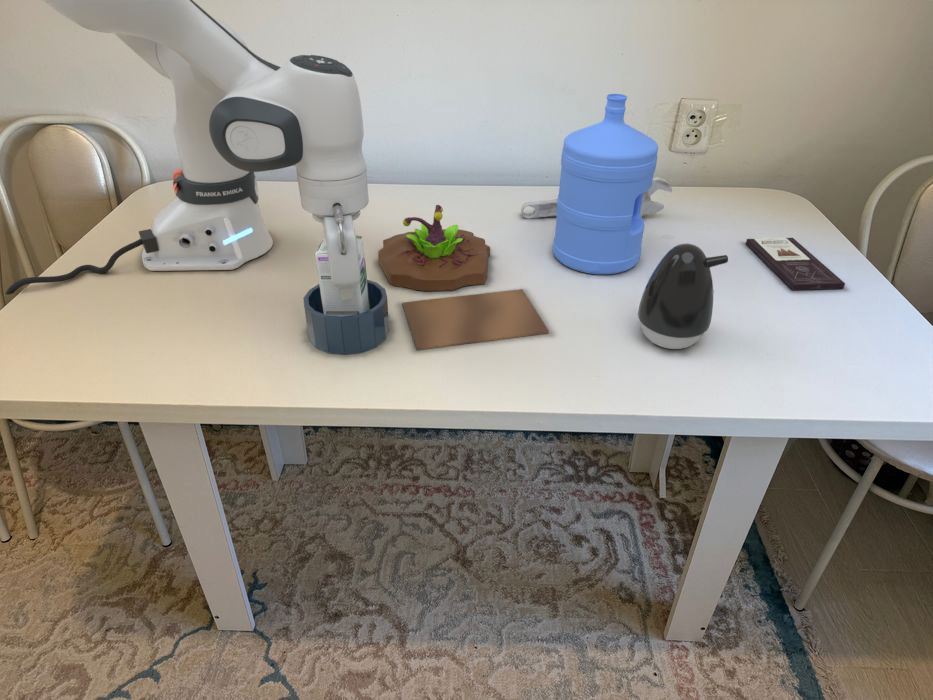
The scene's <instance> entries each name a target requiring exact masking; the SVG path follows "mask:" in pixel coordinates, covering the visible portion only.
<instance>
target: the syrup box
mask: <svg viewBox="0 0 933 700" xmlns="http://www.w3.org/2000/svg"><path fill="white" fill-rule="evenodd" d="M322 237H323V238H322V240H321V241H320V243H319V245H318V247H317V249H316V251H315V253H314V257H315V263H316V269H317V270H316V271H317V278H318V284H319V285H320V292H321V299H322V306H323V312H324V314H325V315H330V316H341V317H342V316H350V315H357V314H360V313H363V312H366V311H369V310H370V303H369V293H368V283H367V280H368V276H367V275H368V274H367V266H366V256H365V255H366V254H365V245H364V237H363V236H361V235H356V238H357V246H358V255H359V265H360V276H361V280H360V284H359V285H355V286H353V287H352V289H353V298H352V299H350V300H341V299H340V295H339V287H334V286H333V284H332V280H331V274H330V268H329V261H328V253H327V247H326V241H325V236H324V235H323V236H322ZM341 254H342V253H341ZM345 254H346V253H345ZM345 254H342V255H345Z"/></svg>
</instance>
